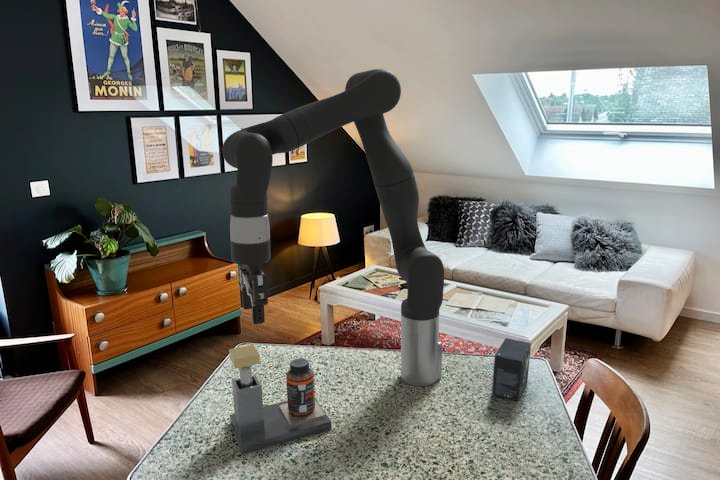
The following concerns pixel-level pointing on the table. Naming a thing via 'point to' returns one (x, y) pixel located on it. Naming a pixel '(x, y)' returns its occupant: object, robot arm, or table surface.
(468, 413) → the table surface
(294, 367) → the supplement bottle
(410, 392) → the table surface
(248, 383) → the plunger
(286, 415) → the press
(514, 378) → the box
